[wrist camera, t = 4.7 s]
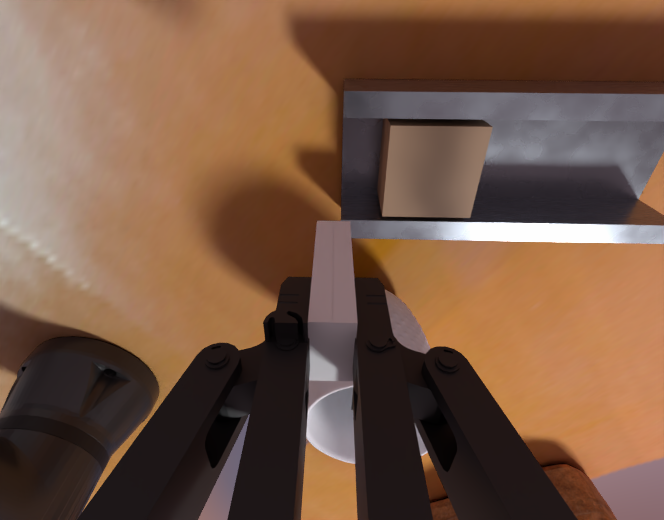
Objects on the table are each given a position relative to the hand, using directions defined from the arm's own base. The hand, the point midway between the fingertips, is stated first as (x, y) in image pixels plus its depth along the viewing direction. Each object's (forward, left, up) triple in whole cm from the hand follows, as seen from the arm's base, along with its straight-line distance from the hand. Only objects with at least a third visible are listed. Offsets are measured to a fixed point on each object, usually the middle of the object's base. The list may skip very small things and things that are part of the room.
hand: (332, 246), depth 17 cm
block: (+6, 0, -13) cm, 15 cm away
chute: (+12, 0, -14) cm, 18 cm away
